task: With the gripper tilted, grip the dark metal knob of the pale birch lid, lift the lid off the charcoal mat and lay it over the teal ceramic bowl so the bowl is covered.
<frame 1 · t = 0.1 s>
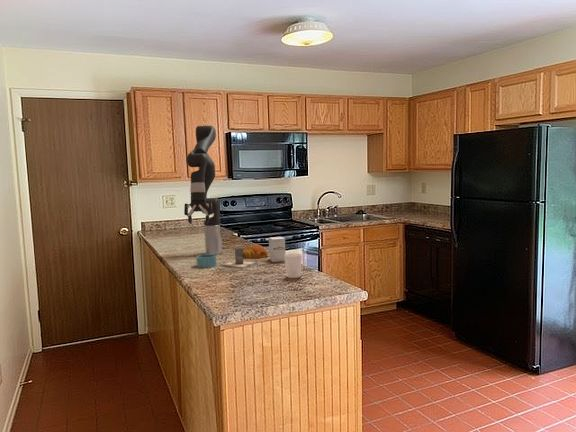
hand: (198, 223, 230), 22 cm above the counter, tool pointing down, fingers open, 8 cm apart
bowl: (206, 266, 231), on the counter
supplement box: (277, 261, 240), on the counter
lid: (239, 264, 230), resting on mat
white cup: (293, 276, 204), on the counter
croissant: (254, 257, 253), on the counter
mat: (239, 265, 230), on the counter
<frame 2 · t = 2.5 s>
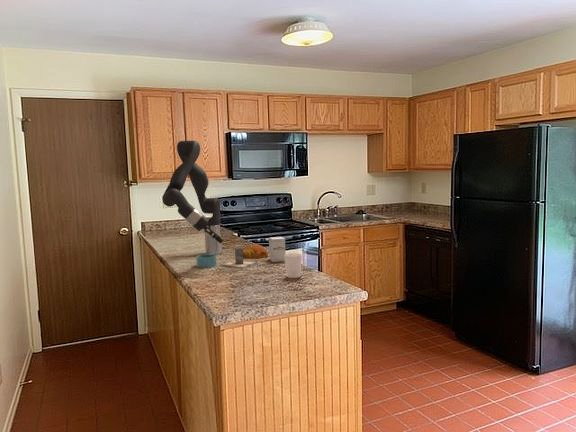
hand: (220, 241, 227), 14 cm above the counter, tool tilted 45°, fingers open, 8 cm apart
nothing on the counter moved.
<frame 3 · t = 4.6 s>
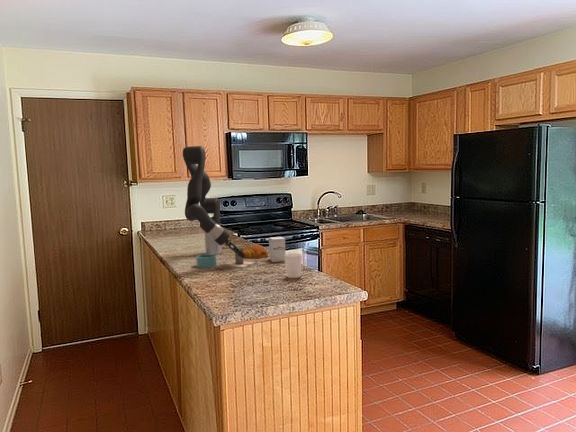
hand: (243, 255, 230), 5 cm above the counter, tool tilted 45°, fingers closed on lid, 3 cm apart
lid: (239, 264, 230), resting on mat, touching gripper
everything else where it was.
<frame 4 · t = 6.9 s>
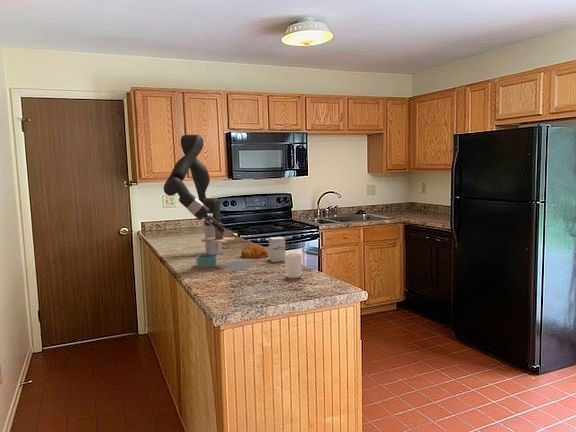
hand: (222, 231, 230), 18 cm above the counter, tool tilted 45°, fingers closed on lid, 3 cm apart
lid: (219, 240, 229), point 14 cm above the counter, touching gripper
everything else where it was.
when the fingers open (11 cm above the counter, at t = 9.2 s): lid drops 1 cm, resting on bowl.
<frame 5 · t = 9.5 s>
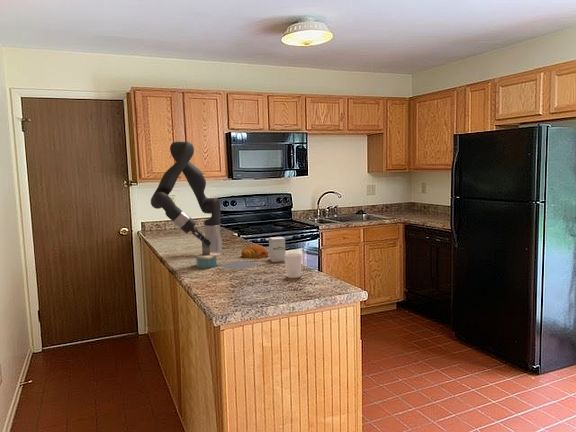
hand: (209, 243, 230), 12 cm above the counter, tool tilted 45°, fingers open, 6 cm apart
lid: (206, 255, 230), point 5 cm above the counter, touching bowl
everything else where it was.
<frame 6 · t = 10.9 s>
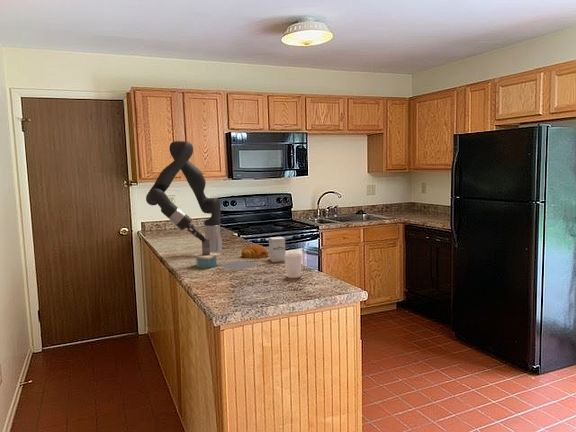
hand: (204, 239, 229), 14 cm above the counter, tool tilted 45°, fingers open, 8 cm apart
nothing on the counter moved.
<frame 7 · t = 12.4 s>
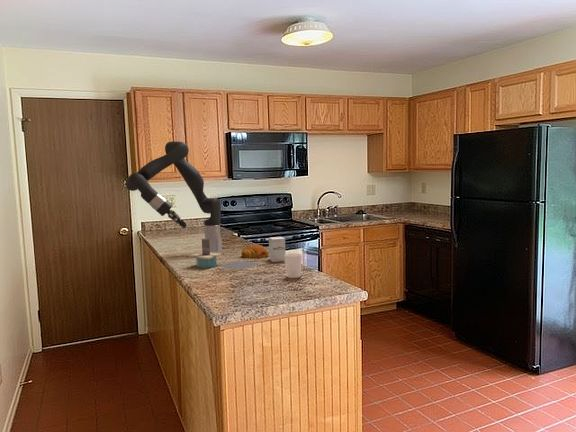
hand: (185, 226, 226), 22 cm above the counter, tool tilted 45°, fingers open, 8 cm apart
nothing on the counter moved.
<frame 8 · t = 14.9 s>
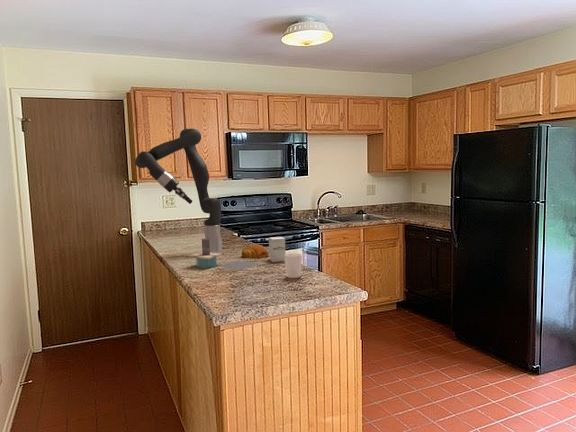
hand: (191, 202, 240), 33 cm above the counter, tool tilted 45°, fingers open, 8 cm apart
nothing on the counter moved.
at the end: lid 0.1 cm off-centre on the bowl, point 5.5 cm above the bowl's base; lid tilted 0°; the gripper is holding nothing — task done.
